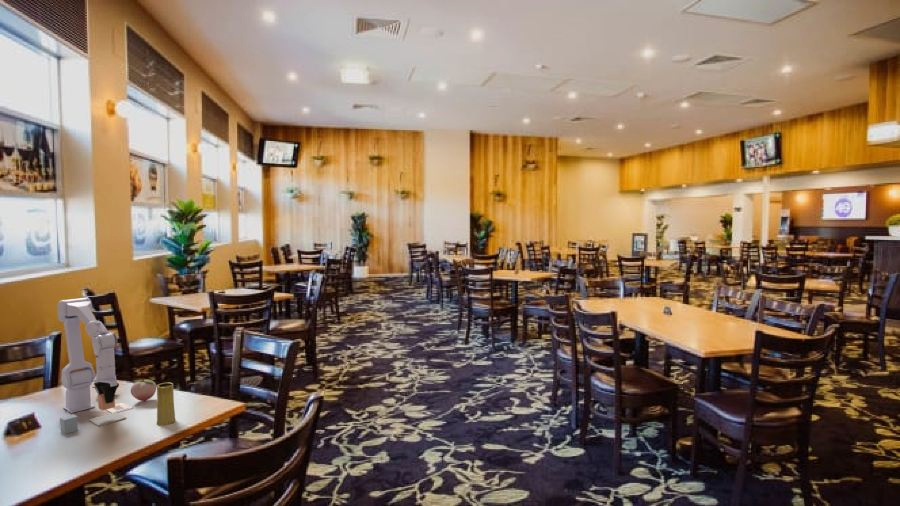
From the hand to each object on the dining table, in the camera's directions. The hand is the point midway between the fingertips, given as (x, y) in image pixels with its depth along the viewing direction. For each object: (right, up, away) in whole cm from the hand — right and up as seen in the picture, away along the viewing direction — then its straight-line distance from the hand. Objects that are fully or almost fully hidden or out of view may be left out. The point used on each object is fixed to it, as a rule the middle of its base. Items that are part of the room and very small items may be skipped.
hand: (107, 401), depth 187 cm
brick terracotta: (0, -2, 0) cm, 2 cm away
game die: (-18, -6, +26) cm, 32 cm away
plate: (0, -7, +1) cm, 7 cm away
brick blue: (-7, -8, -9) cm, 14 cm away
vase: (+23, -8, -2) cm, 24 cm away
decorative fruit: (+2, -6, +20) cm, 21 cm away
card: (-4, -6, +12) cm, 14 cm away
